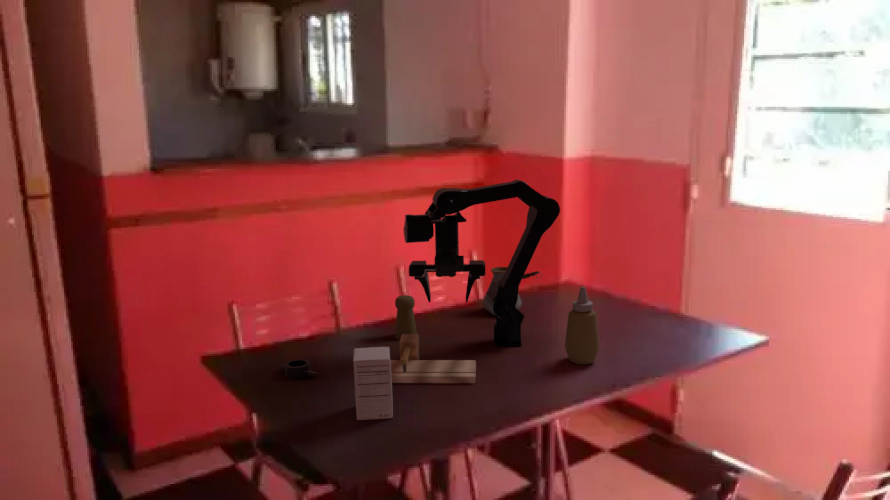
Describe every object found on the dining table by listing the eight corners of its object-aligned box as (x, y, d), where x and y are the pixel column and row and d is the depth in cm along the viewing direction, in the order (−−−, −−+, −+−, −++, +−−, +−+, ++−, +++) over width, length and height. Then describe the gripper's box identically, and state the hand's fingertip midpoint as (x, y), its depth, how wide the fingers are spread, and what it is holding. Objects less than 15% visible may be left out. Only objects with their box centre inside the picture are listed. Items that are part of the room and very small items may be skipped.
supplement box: (356, 405, 150) (353, 347, 147) (392, 403, 150) (390, 345, 147) (355, 421, 142) (352, 360, 140) (393, 418, 143) (390, 358, 140)
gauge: (419, 357, 176) (418, 333, 175) (413, 381, 162) (412, 355, 160) (403, 357, 177) (402, 334, 175) (395, 381, 162) (394, 355, 161)
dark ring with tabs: (287, 385, 161) (286, 373, 160) (276, 371, 170) (275, 359, 169) (320, 379, 164) (320, 367, 164) (308, 365, 173) (307, 354, 173)
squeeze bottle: (602, 357, 173) (604, 284, 170) (594, 368, 166) (596, 293, 163) (569, 353, 177) (570, 281, 173) (560, 364, 170) (561, 290, 166)
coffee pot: (474, 311, 213) (473, 261, 210) (504, 304, 219) (503, 255, 216) (524, 328, 196) (524, 275, 193) (554, 320, 203) (554, 268, 200)
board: (475, 366, 169) (475, 359, 169) (475, 383, 160) (475, 376, 159) (382, 366, 171) (382, 359, 170) (376, 382, 161) (375, 375, 161)
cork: (418, 332, 195) (417, 293, 192) (415, 340, 189) (414, 299, 186) (396, 332, 195) (395, 293, 193) (392, 339, 189) (391, 299, 187)
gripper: (405, 247, 169) (407, 311, 173) (484, 246, 168) (485, 311, 171) (410, 238, 180) (412, 298, 184) (485, 237, 179) (485, 298, 182)
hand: (448, 301), depth 180 cm, fingers open, 9 cm apart
